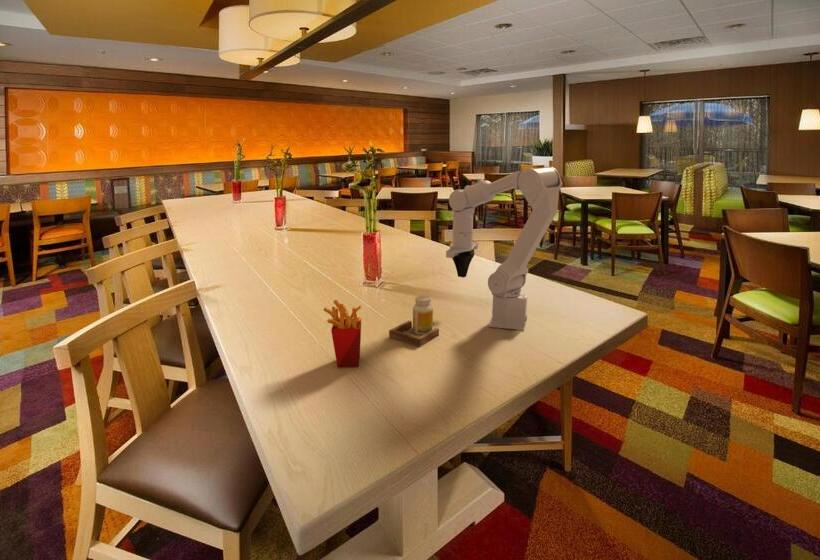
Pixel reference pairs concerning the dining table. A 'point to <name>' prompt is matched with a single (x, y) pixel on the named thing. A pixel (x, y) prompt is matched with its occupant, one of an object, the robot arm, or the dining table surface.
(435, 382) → the dining table surface
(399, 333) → the brown wooden u-shaped frame
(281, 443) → the dining table surface
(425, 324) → the supplement bottle
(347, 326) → the french fries
